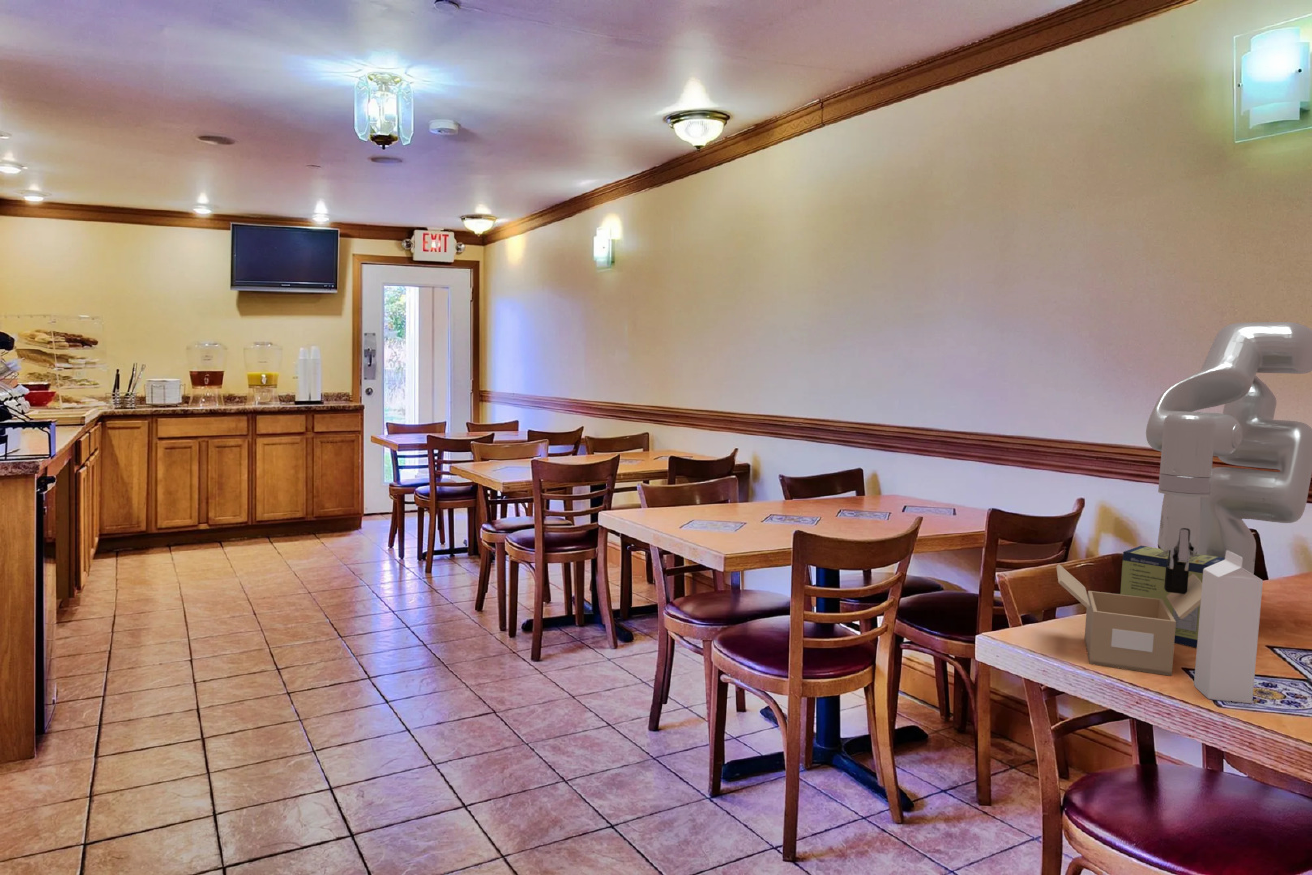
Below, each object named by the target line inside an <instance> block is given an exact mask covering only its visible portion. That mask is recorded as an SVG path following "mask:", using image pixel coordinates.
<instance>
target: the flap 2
mask: <svg viewBox="0 0 1312 875" xmlns="http://www.w3.org/2000/svg"><path fill="white" fill-rule="evenodd" d="M1201 592H1202V582H1201V581H1200V580H1199V579H1198V578H1197V576H1196V575H1194V574H1192V575H1191V576H1190V577H1189V578H1188V587H1187V592H1186V593H1185V594H1179V593H1170V594H1169V595H1167V596H1166V597H1167V598H1168V600H1169V602H1170V603H1171V605H1172V606H1173V608H1174V610H1175V611H1176V613H1177V614H1178V616H1179V617H1180V618H1181V619H1184V618H1185V617H1186V616H1187V615H1188V614H1190V613H1191V612H1192V611H1193V610H1194V609H1196V608H1197V607H1198V606H1199V605H1200V604H1201Z"/></svg>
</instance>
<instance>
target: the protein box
mask: <svg viewBox="0 0 1312 875" xmlns="http://www.w3.org/2000/svg"><path fill="white" fill-rule="evenodd" d="M1167 557H1168V552H1167V553H1166V552H1164V551H1163V550H1162V549H1161V548H1160V547H1159V548H1158V547H1152V546H1148V545H1147V546H1146V545H1139V546H1136V547H1133V548H1131V549H1127V550H1125V551H1123V552H1122V566H1121V579H1120V580H1121V581H1120V593H1119V594H1121V595H1130V596H1138V597H1147V598H1155V599H1163V601H1164V603H1165V604H1166V606H1167V608H1168V609H1169V611H1170V613H1171V614H1172V616H1173V618H1174V619H1175V621H1176V628H1175V640H1174V644H1178V645H1181V646H1186V647H1190V646H1191V648H1196V649H1197V641H1198V629H1199V617H1200V605H1201V604H1200V605H1199V606H1198V607H1197V608H1196V609H1194V610H1193V611H1192V612H1191V613H1190V614H1188V615H1187V616H1186V617H1185V618H1184V619H1181V618H1180V617H1179V616H1178V614H1177V613H1176V611H1175V610H1174V608H1173V606H1172V605H1171V603H1170V602H1169V600H1168V598H1167V597H1166V596H1167V595H1169V594H1170V593H1171V592H1166V590H1165V589H1164V585H1165V572H1166V567H1167ZM1223 560H1225V558H1221V557H1214V556H1207V555H1200V554H1197V553H1196V554H1194V555H1191V554H1190V558H1189V567H1188V571H1189V575H1188V578H1189V577H1190V576H1191V575H1192V574H1194V575H1196V576H1197V578H1198V579H1199V580H1200V581H1201V582H1202V580H1203V569H1204V568H1206V567H1209V566H1211V565H1213V564H1216V563H1218V562H1220V561H1223Z"/></svg>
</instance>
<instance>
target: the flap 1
mask: <svg viewBox="0 0 1312 875" xmlns="http://www.w3.org/2000/svg"><path fill="white" fill-rule="evenodd" d="M1055 566H1056V572H1057V573H1056V574H1057V579H1058V580H1057V582H1058V584H1059V585H1060V586H1061V587H1062V588H1064V589H1065V590H1066V591H1067V592H1068V593H1069V594H1071V596H1073V597H1074V598H1075V599H1076V600H1077V601H1078V602H1079V603H1080V604H1082V606H1084V607H1085V608H1086V609H1087V608H1088V607H1089V606H1090V604H1089V600H1088V592H1087V589H1086V586H1084V585H1083V584H1082V583H1081V582H1080V581H1079V580H1078V579H1076V578H1075V577H1074V576H1073V575H1072V574H1071V573H1070V572H1068V571H1067V569H1065V567H1063V566H1062V565H1061V564H1060V563H1058V564H1057V565H1055Z"/></svg>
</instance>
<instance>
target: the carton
mask: <svg viewBox="0 0 1312 875" xmlns="http://www.w3.org/2000/svg"><path fill="white" fill-rule="evenodd" d="M1087 596H1088V600H1089V604H1090V606H1089V607H1088V608H1086V612H1085V614H1086V615H1085V628H1084V629H1085V630H1084V642H1086V643H1085V647H1087V648H1086V651H1087V652H1088V653H1087V657H1088V662H1089V665H1093V664H1095V666H1100V665H1101V667H1109V668H1114V667H1117V668H1116V669H1121V668H1123V669H1122V670H1127V669H1128V671H1129V670H1130V671H1136V672H1141V671H1142V672H1143V673H1147V674H1149V673H1150V674H1157V675H1163V676H1170V677H1171V676H1173V665H1174V664H1173V663H1174V654H1175V653H1174V651H1175V650H1174V649H1175V643H1174V640H1175V628H1176V621H1175V619H1174V618H1173V616H1172V614H1171V613H1170V611H1169V609H1168V608H1167V606H1166V604H1165V603H1164V601H1163V599H1155V598H1147V597H1138V596H1130V595H1121V594H1120V593H1111V592H1103V591H1101V592H1100V591H1095V590H1088V591H1087ZM1118 667H1119V668H1118Z"/></svg>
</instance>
